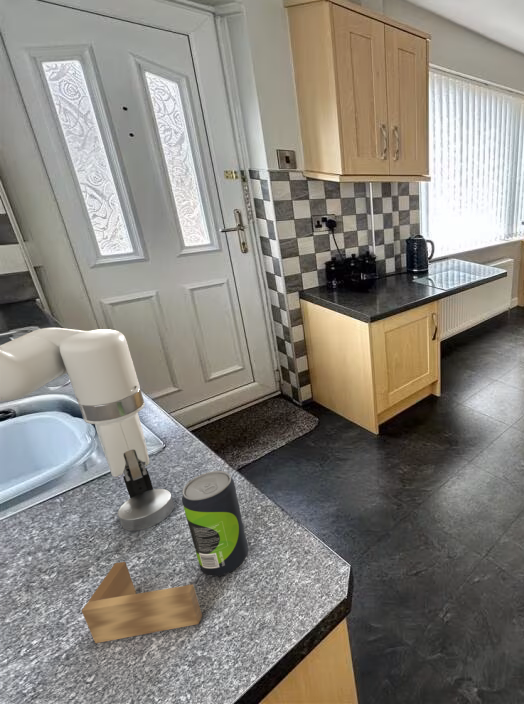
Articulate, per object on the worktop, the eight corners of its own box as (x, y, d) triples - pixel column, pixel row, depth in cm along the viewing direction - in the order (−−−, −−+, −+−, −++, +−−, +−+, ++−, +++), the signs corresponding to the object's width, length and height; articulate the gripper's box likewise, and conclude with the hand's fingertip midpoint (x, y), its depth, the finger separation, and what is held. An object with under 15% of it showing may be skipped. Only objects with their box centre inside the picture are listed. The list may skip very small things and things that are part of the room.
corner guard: (95, 643, 54) (81, 610, 52) (126, 593, 60) (114, 562, 58) (198, 624, 56) (189, 592, 54) (218, 578, 63) (210, 548, 61)
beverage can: (256, 559, 66) (240, 482, 61) (210, 587, 61) (189, 507, 56) (239, 537, 69) (222, 463, 64) (194, 563, 65) (173, 485, 60)
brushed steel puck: (111, 534, 69) (107, 522, 68) (135, 502, 75) (132, 491, 74) (162, 527, 71) (158, 515, 70) (181, 497, 77) (178, 486, 76)
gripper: (76, 394, 71) (107, 481, 77) (86, 432, 62) (120, 527, 68) (134, 380, 76) (158, 462, 83) (151, 413, 67) (177, 503, 73)
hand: (141, 492), depth 75 cm, fingers closed
